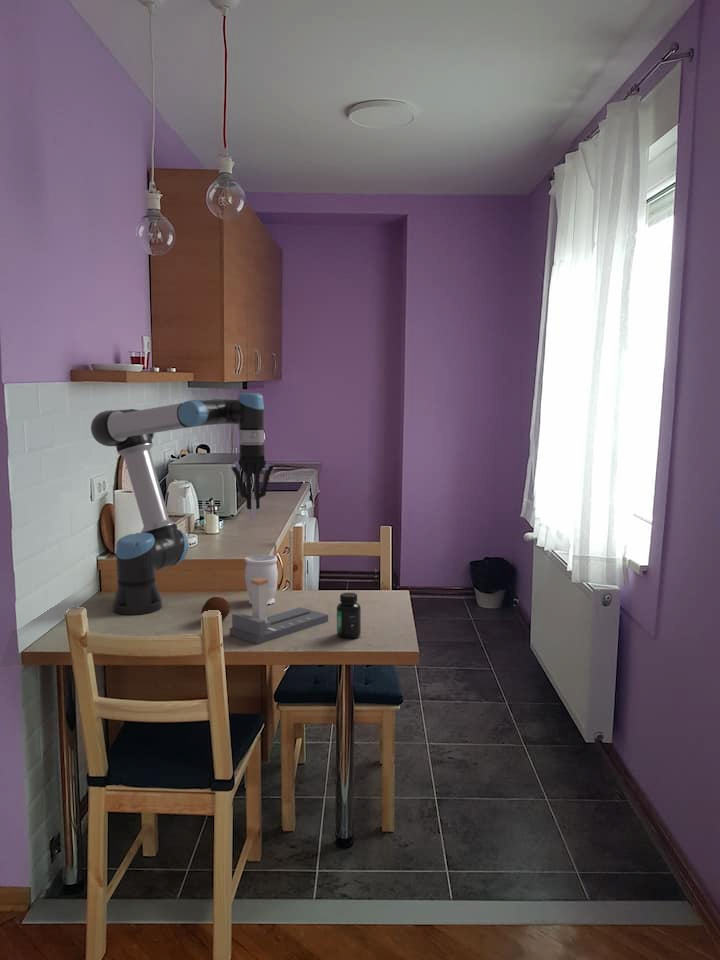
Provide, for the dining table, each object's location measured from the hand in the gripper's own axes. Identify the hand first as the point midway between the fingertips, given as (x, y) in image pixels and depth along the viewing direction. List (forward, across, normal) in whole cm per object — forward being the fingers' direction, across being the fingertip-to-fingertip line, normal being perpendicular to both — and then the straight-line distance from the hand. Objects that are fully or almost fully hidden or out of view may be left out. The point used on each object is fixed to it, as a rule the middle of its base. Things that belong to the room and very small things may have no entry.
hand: (253, 519), depth 243 cm
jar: (+30, +4, +9) cm, 31 cm away
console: (+29, +4, -19) cm, 35 cm away
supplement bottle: (+30, +21, -32) cm, 48 cm away
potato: (+30, -13, -7) cm, 33 cm away
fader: (+27, -3, -23) cm, 35 cm away
